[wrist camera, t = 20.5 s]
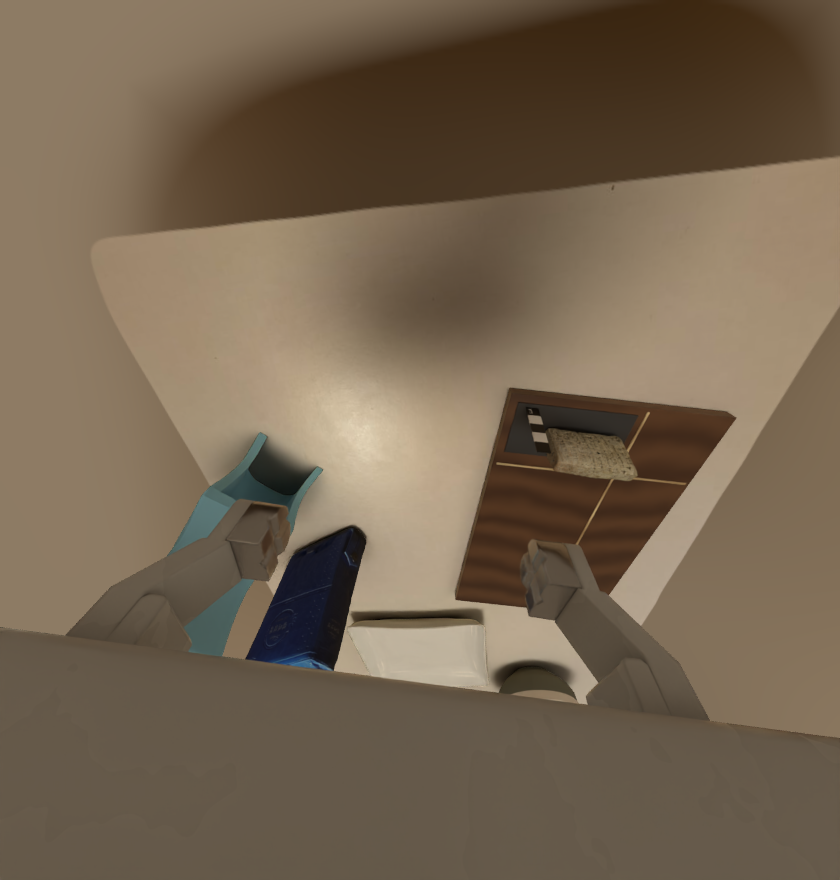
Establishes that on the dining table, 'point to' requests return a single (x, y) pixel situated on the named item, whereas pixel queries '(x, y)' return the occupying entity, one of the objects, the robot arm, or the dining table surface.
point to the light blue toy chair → (210, 509)
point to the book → (311, 604)
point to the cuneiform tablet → (582, 451)
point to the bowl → (538, 685)
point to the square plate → (424, 650)
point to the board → (580, 488)
